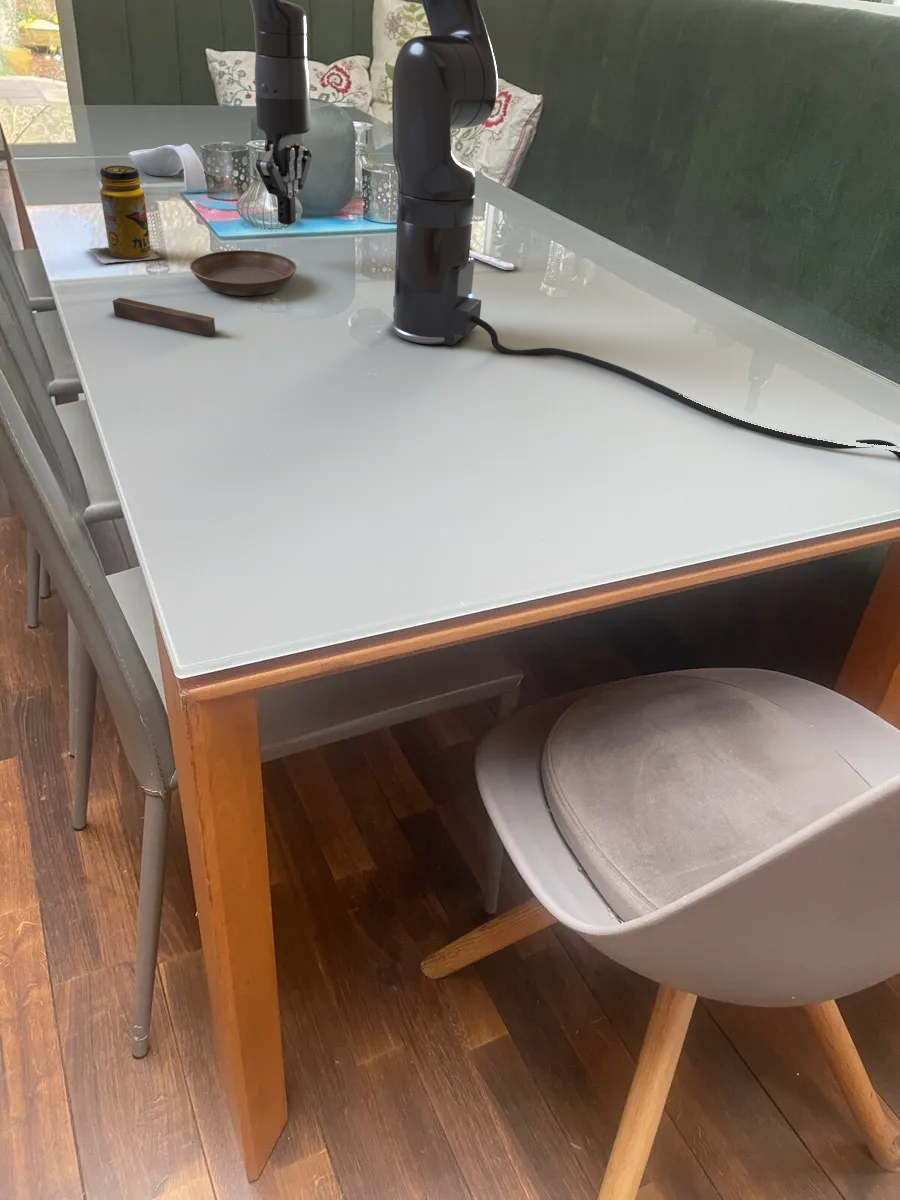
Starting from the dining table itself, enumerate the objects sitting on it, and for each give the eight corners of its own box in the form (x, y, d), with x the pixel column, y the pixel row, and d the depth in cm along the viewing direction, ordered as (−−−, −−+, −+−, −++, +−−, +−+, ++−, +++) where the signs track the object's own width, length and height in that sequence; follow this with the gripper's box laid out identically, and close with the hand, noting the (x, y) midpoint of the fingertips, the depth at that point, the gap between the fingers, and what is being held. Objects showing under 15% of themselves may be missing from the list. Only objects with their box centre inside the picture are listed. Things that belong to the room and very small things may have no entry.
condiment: (160, 259, 134) (150, 172, 127) (103, 264, 130) (89, 175, 123) (144, 246, 139) (133, 162, 132) (89, 251, 135) (74, 164, 128)
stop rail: (215, 333, 112) (214, 317, 111) (209, 337, 111) (207, 321, 110) (122, 312, 115) (119, 297, 114) (114, 316, 114) (112, 300, 113)
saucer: (234, 308, 119) (232, 288, 118) (170, 280, 127) (168, 260, 125) (318, 288, 129) (318, 269, 127) (254, 262, 136) (253, 244, 135)
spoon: (500, 272, 141) (500, 268, 141) (423, 243, 151) (423, 240, 150) (523, 267, 144) (523, 263, 144) (446, 239, 154) (446, 236, 154)
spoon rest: (121, 168, 180) (116, 129, 176) (177, 164, 186) (173, 126, 182) (170, 195, 165) (165, 153, 161) (228, 190, 171) (225, 149, 167)
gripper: (283, 101, 118) (287, 237, 128) (328, 91, 128) (329, 217, 139) (233, 93, 120) (242, 228, 130) (282, 84, 130) (286, 210, 140)
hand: (287, 222), depth 134 cm, fingers closed
